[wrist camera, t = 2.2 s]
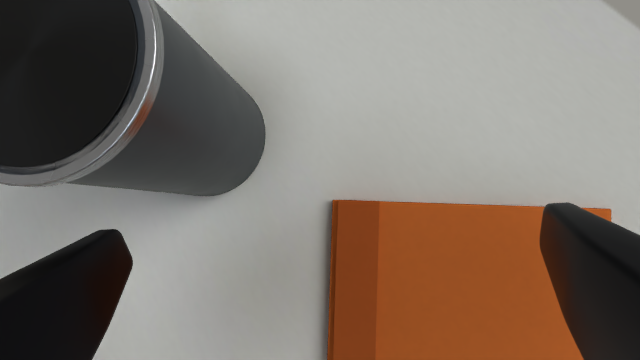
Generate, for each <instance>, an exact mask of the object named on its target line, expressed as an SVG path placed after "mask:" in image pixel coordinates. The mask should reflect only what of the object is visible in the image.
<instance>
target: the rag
mask: <svg viewBox="0 0 640 360" xmlns="http://www.w3.org/2000/svg"><path fill="white" fill-rule="evenodd" d="M544 208H545V207H536V206H505V205H474V204H444V203H413V202H383V201H356V200H333V204H332V234H331V264H330V294H329V324H328V354H327V360H584V359H583V357H582V355H581V353H580V351H579V349H578V347H577V345H576V343H575V341H574V339H573V337H572V335H571V332H570V330H569V328H568V326H567V324H566V321H565V319H564V316H563V314H562V311H561V308H560V305H559V302H558V300H557V297H556V294H555V291H554V288H553V285H552V282H551V279H550V276H549V273H548V271H547V268H546V265H545V262H544V259H543V256H542V253H541V250H540V244H539V239H540V231H541V223H542V216H543V210H544ZM582 209H584V210H587V211H589V212H591V213H593V214H595V215H597V216H599V217H602V218H604V219H606V220H608V221H610V222H611V209H597V208H582Z"/></svg>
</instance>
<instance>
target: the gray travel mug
mask: <svg viewBox="0 0 640 360" xmlns="http://www.w3.org/2000/svg"><path fill="white" fill-rule="evenodd" d="M264 145H265V125H264V120H263V117H262V114H261V112H260V110H259V108H258V106H257V104H256V103H255V101H254V100H253V99H252V97H251V96H250V95H249V94H248V93H247V92H246V91H245V90H244V89H243V88H242V87H241V86H240V85H239V84H238V83H237V82H236V81H235V80H234V79H233V78H232V77H231V76H230V75H229V74H228V73H227V72H226V71H225V70H224V69H223V68H222V67H221V66H220V65H219V64H218V63H217V62H216V61H215V60H214V59H213V58H212V57H211V56H210V55H209V54H208V53H207V52H206V51H205V50H204V49H203V48H202V47H201V46H200V45H199V44H198V43H197V42H196V41H195V40H194V39H193V38H192V37H191V36H190V35H189V34H188V33H187V32H186V31H185V30H184V29H183V28H182V27H181V26H180V25H179V24H178V23H177V22H176V21H175V20H174V19H173V18H172V17H171V16H170V15H169V14H168V13H167V12H166V11H165V10H164V9H163V8H161V7H160V6H159V5H158V4H157V3H156V2H155V1H154V0H0V184H5V185H11V186H25V187H45V186H54V185H58V184H63V183H70V184H80V185H91V186H102V187H112V188H123V189H134V190H144V191H155V192H166V193H176V194H187V195H198V196H214V195H218V194H222V193H225V192H228V191H230V190H232V189H234V188H236V187H237V186H239V185H240V184H242V183H243V182H244V181H245V180H246V179H247V178H248V177H249V176H250V175H251V174H252V172H253V171H254V170H255V168H256V166H257V165H258V163H259V161H260V159H261V156H262V153H263V149H264Z"/></svg>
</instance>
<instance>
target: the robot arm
mask: <svg viewBox="0 0 640 360" xmlns="http://www.w3.org/2000/svg"><path fill="white" fill-rule="evenodd" d="M539 244H540V250H541V253H542V256H543V259H544V262H545V265H546V268H547V271H548V273H549V276H550V279H551V282H552V285H553V288H554V291H555V294H556V297H557V300H558V302H559V305H560V308H561V311H562V314H563V316H564V319H565V321H566V324H567V326H568V328H569V330H570V332H571V335H572V337H573V339H574V341H575V343H576V345H577V347H578V349H579V351H580V353H581V355H582V357H583V359H584V360H640V235H638V234H636V233H634V232H632V231H630V230H627V229H625V228H623V227H621V226H619V225H617V224H614V223H612V222H610V221H608V220H606V219H604V218H602V217H599V216H597V215H595V214H593V213H591V212H589V211H587V210H584V209H582V208H580V207H578V206H576V205H574V204H571V203H552V204H547V205H546V206H545V208H544V210H543V216H542V223H541V231H540V239H539ZM132 266H133V260H132V256H131V254H130V251H129V249H128V247H127V245H126V243H125V241H124V238H123V236H122V234H121V233H120V232H119V231H118V230H116V229H109V230H99V231H96V232H94V233H92V234H90V235H88V236H86V237H84V238H82V239H80V240H78V241H76V242H74V243H72V244H70V245H68V246H66V247H64V248H62V249H60V250H58V251H56V252H54V253H52V254H50V255H48V256H46V257H44V258H42V259H40V260H38V261H36V262H34V263H32V264H30V265H28V266H26V267H24V268H22V269H20V270H18V271H16V272H14V273H12V274H9V275H7V276H5V277H3V278H1V279H0V360H92V359H93V357H94V355H95V353H96V351H97V349H98V347H99V345H100V343H101V341H102V339H103V337H104V335H105V333H106V331H107V329H108V327H109V324H110V322H111V320H112V317H113V315H114V312H115V310H116V307H117V305H118V302H119V300H120V297H121V295H122V292H123V290H124V287H125V285H126V282H127V280H128V277H129V275H130V272H131V270H132Z"/></svg>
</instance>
